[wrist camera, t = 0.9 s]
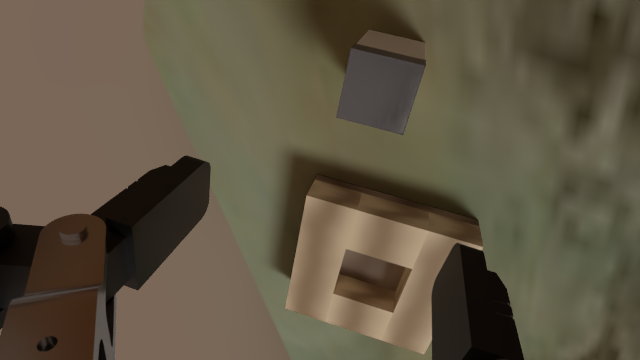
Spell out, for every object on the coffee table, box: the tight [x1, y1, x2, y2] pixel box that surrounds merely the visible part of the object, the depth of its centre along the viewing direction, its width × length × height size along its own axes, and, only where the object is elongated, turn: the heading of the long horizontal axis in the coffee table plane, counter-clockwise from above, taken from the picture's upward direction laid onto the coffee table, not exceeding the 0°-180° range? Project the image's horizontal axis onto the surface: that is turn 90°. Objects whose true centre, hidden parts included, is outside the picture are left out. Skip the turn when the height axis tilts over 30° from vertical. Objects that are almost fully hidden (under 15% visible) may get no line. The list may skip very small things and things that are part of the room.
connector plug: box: [336, 30, 426, 135], centre depth 27 cm, size 5×5×8 cm
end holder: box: [285, 174, 483, 354], centre depth 39 cm, size 16×16×4 cm
